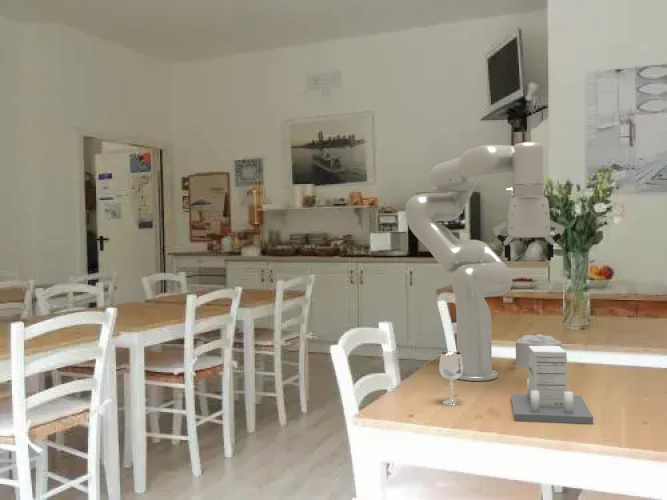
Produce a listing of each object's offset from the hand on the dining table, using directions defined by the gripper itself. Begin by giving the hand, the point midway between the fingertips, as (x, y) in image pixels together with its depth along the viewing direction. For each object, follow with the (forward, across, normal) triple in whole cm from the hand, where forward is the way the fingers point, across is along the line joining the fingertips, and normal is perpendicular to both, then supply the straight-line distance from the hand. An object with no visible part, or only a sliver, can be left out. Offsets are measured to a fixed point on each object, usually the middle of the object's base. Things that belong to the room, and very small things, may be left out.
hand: (528, 260), depth 168 cm
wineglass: (+34, -19, -13) cm, 41 cm away
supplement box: (+32, +3, -16) cm, 36 cm away
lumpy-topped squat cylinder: (+34, +5, +35) cm, 49 cm away
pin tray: (+33, +3, -17) cm, 38 cm away
